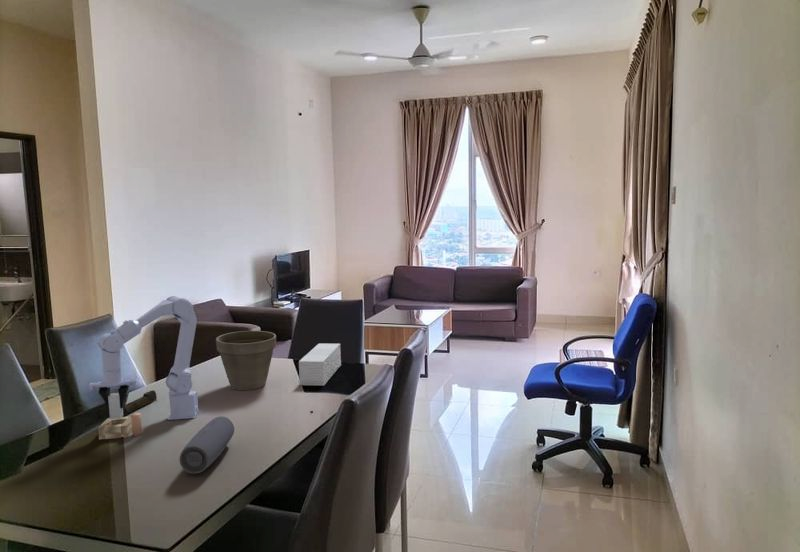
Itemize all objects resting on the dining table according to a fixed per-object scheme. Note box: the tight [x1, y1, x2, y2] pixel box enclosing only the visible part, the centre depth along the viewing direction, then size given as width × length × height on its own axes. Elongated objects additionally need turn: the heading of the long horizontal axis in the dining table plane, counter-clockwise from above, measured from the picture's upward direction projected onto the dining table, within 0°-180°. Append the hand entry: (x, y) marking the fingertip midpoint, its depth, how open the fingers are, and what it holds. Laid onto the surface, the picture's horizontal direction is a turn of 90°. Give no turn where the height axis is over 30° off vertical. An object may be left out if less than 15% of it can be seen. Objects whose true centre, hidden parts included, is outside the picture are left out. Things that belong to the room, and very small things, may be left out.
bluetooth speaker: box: [178, 415, 235, 474], centre depth 168 cm, size 23×9×10 cm, turn 178°
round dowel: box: [130, 412, 143, 436], centre depth 189 cm, size 3×3×7 cm
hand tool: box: [122, 390, 158, 417], centre depth 215 cm, size 19×4×5 cm, turn 162°
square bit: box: [108, 392, 124, 419], centre depth 190 cm, size 3×3×8 cm
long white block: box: [298, 343, 342, 386], centre depth 254 cm, size 32×11×11 cm, turn 173°
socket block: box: [97, 415, 132, 440], centre depth 190 cm, size 9×9×4 cm
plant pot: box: [215, 330, 277, 391], centre depth 239 cm, size 25×25×22 cm
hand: (115, 407), depth 190 cm, fingers closed on square bit, 3 cm apart
